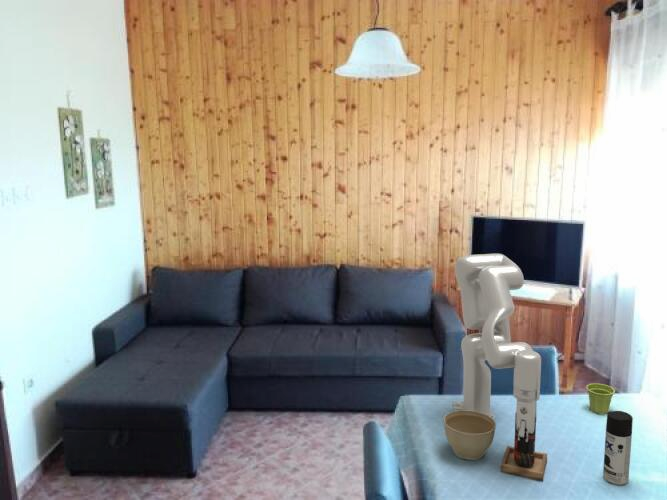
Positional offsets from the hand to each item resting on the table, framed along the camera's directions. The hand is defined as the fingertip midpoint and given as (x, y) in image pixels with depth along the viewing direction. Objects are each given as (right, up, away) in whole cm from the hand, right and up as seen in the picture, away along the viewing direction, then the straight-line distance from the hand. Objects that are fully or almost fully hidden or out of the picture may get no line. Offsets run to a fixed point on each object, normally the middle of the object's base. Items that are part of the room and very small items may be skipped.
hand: (524, 446), depth 165 cm
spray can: (+24, -7, -7) cm, 26 cm away
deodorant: (0, -5, +1) cm, 5 cm away
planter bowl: (-15, -6, +9) cm, 18 cm away
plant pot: (+40, 0, +35) cm, 53 cm away
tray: (0, -6, +1) cm, 6 cm away
